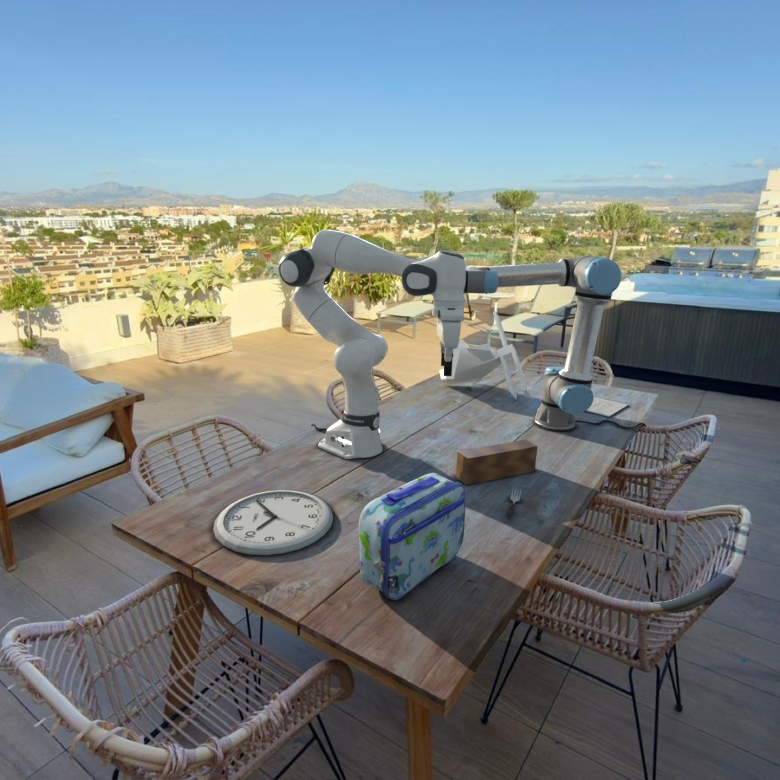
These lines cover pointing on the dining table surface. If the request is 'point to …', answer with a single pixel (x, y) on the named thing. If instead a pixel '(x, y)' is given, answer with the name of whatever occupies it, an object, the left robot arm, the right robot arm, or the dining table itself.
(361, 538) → the lunch box
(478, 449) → the bar
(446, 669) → the dining table surface
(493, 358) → the white plastic object
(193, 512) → the dining table surface
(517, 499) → the fork
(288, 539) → the wall clock
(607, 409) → the invitation card
